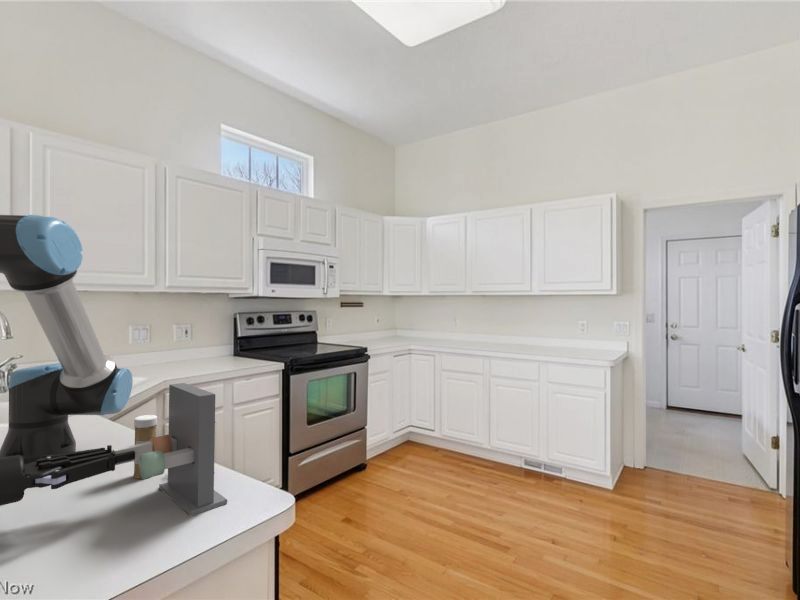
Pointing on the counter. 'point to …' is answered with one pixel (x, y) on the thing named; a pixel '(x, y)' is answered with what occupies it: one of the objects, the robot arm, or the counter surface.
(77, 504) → the counter surface
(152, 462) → the sage button
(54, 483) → the robot arm
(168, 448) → the rust button
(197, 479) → the button panel
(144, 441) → the spice jar
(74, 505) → the counter surface
